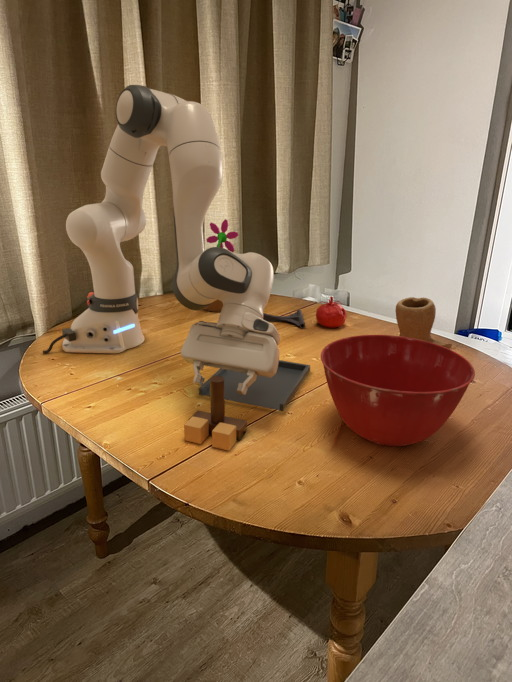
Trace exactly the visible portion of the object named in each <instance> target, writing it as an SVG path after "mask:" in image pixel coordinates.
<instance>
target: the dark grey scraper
mask: <svg viewBox="0 0 512 682" xmlns="http://www.w3.org/2000/svg"><path fill="white" fill-rule="evenodd" d="M304 319H305V318H304V316H303V313H302V310H301V309H297V310H296V311H295V312H293V313H291V314H289V315H284V316H283V315H282V316H281V315H274V314H269V313H265V312H263V320H265V321H267V322H282V323H283V322H285V323H288V322H289V323H292V324H293V325H296V326H297V327H299V328H300V329H305V328H306V324H305V320H304Z"/></svg>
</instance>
